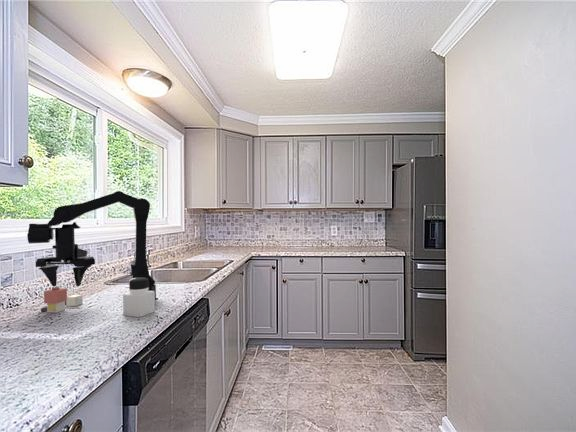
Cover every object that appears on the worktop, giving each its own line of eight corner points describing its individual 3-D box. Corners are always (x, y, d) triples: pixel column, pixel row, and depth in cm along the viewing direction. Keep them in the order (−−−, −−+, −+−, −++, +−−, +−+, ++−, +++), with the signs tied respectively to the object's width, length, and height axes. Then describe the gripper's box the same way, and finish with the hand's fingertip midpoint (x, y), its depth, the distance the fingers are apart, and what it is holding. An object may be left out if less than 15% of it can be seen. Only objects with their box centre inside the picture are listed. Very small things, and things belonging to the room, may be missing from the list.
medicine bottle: (155, 311, 117) (154, 276, 117) (140, 317, 111) (139, 280, 111) (138, 310, 120) (138, 275, 120) (122, 315, 113) (122, 279, 113)
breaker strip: (95, 306, 126) (95, 298, 126) (63, 318, 111) (63, 310, 111) (71, 306, 127) (71, 298, 127) (36, 318, 112) (36, 309, 112)
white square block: (82, 303, 125) (82, 295, 125) (75, 306, 121) (75, 297, 121) (73, 303, 125) (73, 294, 125) (66, 306, 122) (66, 297, 122)
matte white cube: (65, 309, 117) (64, 300, 117) (56, 312, 113) (55, 303, 113) (55, 309, 117) (55, 300, 117) (46, 312, 113) (46, 303, 113)
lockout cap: (67, 300, 117) (66, 286, 117) (56, 303, 112) (56, 289, 112) (55, 300, 118) (55, 286, 118) (44, 303, 113) (43, 288, 113)
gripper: (104, 239, 127) (105, 281, 127) (59, 240, 129) (60, 281, 129) (83, 242, 116) (84, 288, 116) (33, 243, 118) (35, 288, 118)
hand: (66, 286), depth 120 cm, fingers open, 9 cm apart
